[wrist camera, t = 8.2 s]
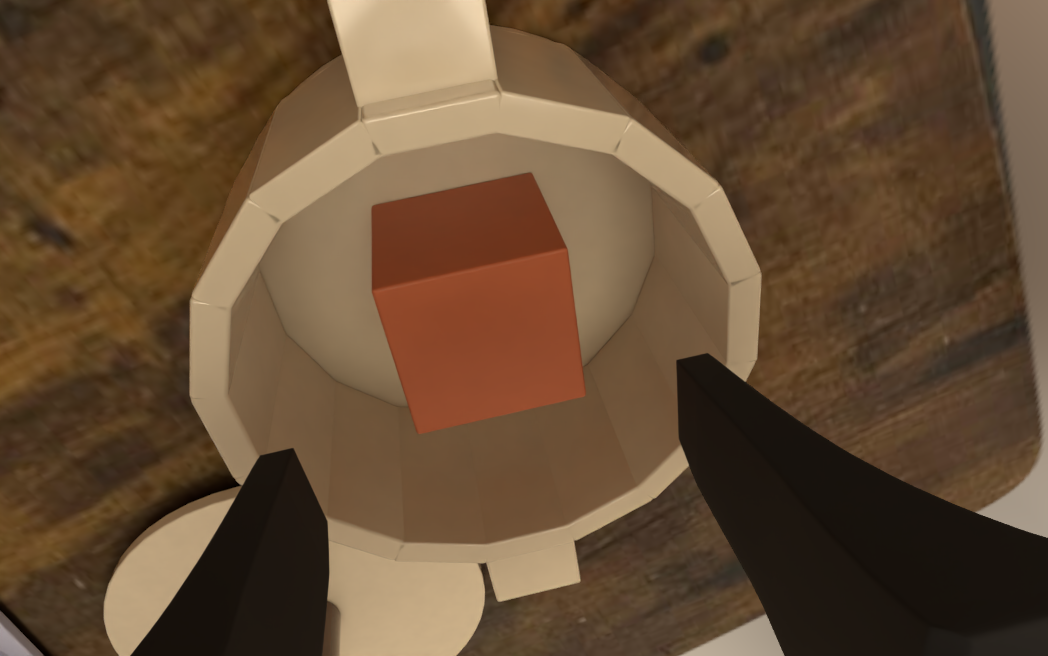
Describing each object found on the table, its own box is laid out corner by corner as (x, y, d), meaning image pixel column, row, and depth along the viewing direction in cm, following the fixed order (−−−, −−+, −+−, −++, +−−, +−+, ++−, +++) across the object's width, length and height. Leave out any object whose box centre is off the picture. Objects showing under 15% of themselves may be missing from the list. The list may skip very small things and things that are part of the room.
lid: (202, 719, 29) (177, 851, 25) (36, 517, 22) (-32, 659, 18) (506, 645, 30) (525, 762, 26) (442, 425, 23) (457, 543, 19)
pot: (342, 509, 24) (335, 666, 19) (90, -62, 14) (-39, -10, 10) (678, 431, 25) (746, 566, 20) (660, -167, 15) (786, -163, 10)
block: (409, 336, 20) (417, 436, 17) (370, 204, 18) (370, 290, 14) (551, 305, 20) (587, 397, 17) (532, 170, 18) (568, 248, 15)
